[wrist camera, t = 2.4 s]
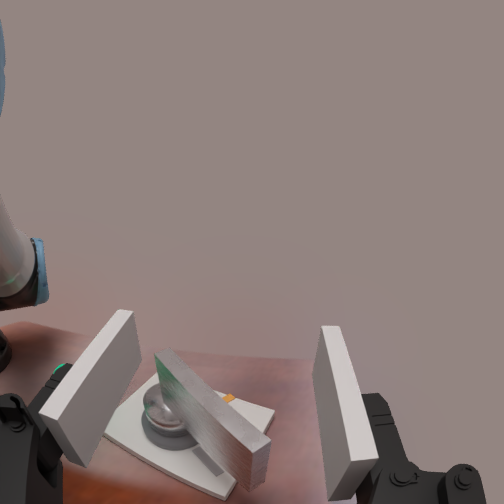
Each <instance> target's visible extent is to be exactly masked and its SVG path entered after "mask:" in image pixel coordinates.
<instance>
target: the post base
mask: <svg viewBox="0 0 504 504" xmlns="http://www.w3.org/2000/svg"><path fill="white" fill-rule="evenodd" d="M158 383H159V378H158V373H156V374H155V375H153V376H152V377H151V378H150V379H149V380H148V381H147V382H146V383H145V384H144V385H142V386H141V387H140V388H139V389H138V390H137V391H136V392H135V393H134V394H132V395H131V396H130V397H129V398H128V399H127V400H126V401H125V402H124V403H122V404H121V405H120V406H119V407H118V408H117V409H116V410H115V412H114V414H113V416H112V418H111V420H110V422H109V424H108V426H107V428H106V430H105V432H104V433H103V436H105V437H106V438H108V439H109V440H111V441H112V442H114V443H115V444H117V445H118V446H120V447H121V448H123V449H124V450H126V451H128V452H129V453H131V454H132V455H134V456H136V457H137V458H139V459H141V460H142V461H144V462H146V463H147V464H149V465H151V466H153V467H155V468H156V469H158V470H160V471H162V472H164V473H166V474H167V475H169V476H171V477H173V478H175V479H177V480H179V481H181V482H183V483H185V484H187V485H189V486H191V487H193V488H196V489H198V490H200V491H202V492H204V493H207V494H209V495H211V496H214V497H216V498H218V499H221V500H223V501H226V499H227V498H228V496H229V494H230V493H231V491H232V490H233V488H234V486H235V485H236V483H237V481H236V480H235V479H234V478H233V477H232V476H231V475H230V474H229V473H228V472H227V471H226V470H225V469H224V468H223V467H222V466H221V465H220V464H219V463H218V462H217V461H216V460H215V459H214V458H213V457H212V456H211V455H210V454H209V453H208V452H207V451H206V450H205V449H204V448H203V447H202V446H201V445H200V444H199V443H198V442H197V441H196V439H195V438H194V437H193V436H192V435H191V434H190V433H189V434H187V435H184V436H181V437H167V436H163V435H160V434H158V433H157V432H155V431H154V430H153V429H152V428H151V426H150V425H149V422H148V419H147V415H146V412H145V408H144V405H143V397H144V394H145V393H146V391H147V390H148V389H149V388H150V387H152V386H153V385H155V384H158ZM214 391H215V390H214ZM215 392H216V393H217V394H218V395H219V396H220V397H221V398H222V399H223V400H225V401H226V402H227V403H228V404H229V405H230V406H231V407H232V408H234V409H235V410H236V411H237V412H238V413H239V414H240V415H242V416H243V417H244V418H245V419H246V420H248V421H249V422H250V423H251V424H252V425H254V426H255V427H256V428H257V429H258V430H260V431H261V432H262V433H263V434H264V435H265V433H266V431H267V429H268V427H269V425H270V423H271V422H272V420H273V418H274V413H275V410H271V409H268V408H265V407H261V406H258V405H255V404H252V403H249V402H246V401H243V400H240V399H237V398H235V397H233V396H232V395H231V394H228V395H226V394H223V393H220V392H217V391H215Z"/></svg>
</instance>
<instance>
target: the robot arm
mask: <svg viewBox="0 0 504 504" xmlns="http://www.w3.org/2000/svg"><path fill="white" fill-rule="evenodd" d="M4 66H5V46H4V37H3V31H2V25H1V21H0V115H1V111H2V106H3V100H4V90H5V75H4ZM48 299H49V291H48V284H47V276H46V267H45V257H44V247H43V241H42V239H40V238H31V239H29V238H28V237H27V236H26V235H25V234H24V233H23V232H22V231H20V230H19V229H16V228H14V226H13V224H12V221H11V219H10V217H9V215H8V213H7V210H6V208H5V205H4V203H3V201H2V198H1V196H0V311H5V310H11V309H17V308H23V307H28V306H37V305H38V304H42V303H45V302H47V301H48ZM11 354H12V351H11V347H10V345H9V342H8V340H7V338H6V336H5V335H4V334H3V332H2V331H1V330H0V372H1V371H2V370H3V369H4V368H5V367H6V366H7V364H8V363H9V361H10V358H11ZM141 361H142V357H141V351H140V346H139V341H138V336H137V330H136V324H135V318H134V312H133V311H127V310H120V309H118V310H117V312H116V313H115V314H114V315H113V316H112V318H111V319H110V320H109V321H108V323H107V324H106V325H105V326H104V327H103V329H102V330H101V331H100V332H99V334H98V335H97V336H96V337H95V339H94V340H93V341H92V342H91V344H90V345H89V346H88V347H87V349H86V350H85V351H84V352H83V354H82V355H81V356H80V357H79V359H78V360H77V361H76V363H75V364H74V365H72V364H68V363H66V364H65V365H63V366H61V367H60V368H58V369H57V370H56V371H55V372H54V374H53V375H52V376H51V377H50V380H48V381H47V382H46V384H45V386H44V387H42V389H41V390H40V391H39V393H38V394H37V395H36V397H35V398H34V399H33V400H32V402H31V403H30V404H29V406H28V407H26V405H25V404H24V402H23V400H22V398H21V397H20V396H18V395H17V394H12V393H9V394H4V395H2V396H0V504H63V466H62V462H61V461H60V457H61V455H62V454H63V453H64V455H65V456H66V458H67V459H68V460H69V461H70V462H72V463H75V464H77V465H80V466H83V467H85V468H87V466H88V464H89V462H90V460H91V458H92V456H93V454H94V452H95V450H96V448H97V446H98V443H99V441H100V439H101V437H102V435H103V433H104V432H105V430H106V428H107V426H108V424H109V422H110V420H111V418H112V416H113V414H114V412H115V410H116V408H117V406H118V404H119V402H120V400H121V398H122V397H123V395H124V393H125V391H126V389H127V387H128V385H129V383H130V381H131V380H132V378H133V376H134V374H135V372H136V370H137V368H138V367H139V365H140V363H141ZM312 378H313V385H314V392H315V399H316V406H317V414H318V421H319V429H320V437H321V445H322V453H323V462H324V470H325V480H326V489H327V499H328V501H339V500H348V499H351V498H352V497H353V495H354V494H355V493H356V498H357V504H486V499H485V494H484V490H483V486H482V481H481V478H480V475H479V473H478V471H477V470H476V469H475V468H474V467H472V466H470V465H468V464H458V465H455V466H453V467H452V468H451V469H450V470H449V471H448V472H447V473H443V472H427V471H422V470H420V469H419V468H418V467H417V466H416V465H415V464H413V463H412V462H409V461H408V459H407V457H406V454H405V451H404V449H403V445H402V443H401V439H400V437H399V434H398V431H397V428H396V426H395V425H394V419H393V417H392V416H391V411H390V408H389V406H388V403H387V402H386V401H385V400H384V398H383V397H382V396H381V395H380V394H379V393H372V394H361V393H360V390H359V386H358V383H357V380H356V376H355V373H354V370H353V367H352V364H351V361H350V357H349V354H348V351H347V348H346V345H345V342H344V339H343V336H342V333H341V330H340V327H339V326H321V331H320V337H319V342H318V348H317V353H316V358H315V363H314V368H313V373H312Z"/></svg>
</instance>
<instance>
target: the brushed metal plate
mask: <svg viewBox="0 0 504 504" xmlns="http://www.w3.org/2000/svg"><path fill="white" fill-rule="evenodd" d="M154 356H155V362H156V367H157V373H158V378H159V383H158V384H155V385H153V386H152V387H150V388H149V389H148V390H147V391H146V393H145V394H144V397H143V405H144V408H145V412H146V415H147V419H148V422H149V425H150V426H151V428H152V429H153V430H154V431H155V432H157V433H158V434H160V435H163V436H167V437H181V436H184V435H187V434H189V433H190V434H191V435H192V436H193V437H194V438H195V439H196V441H197V442H198V443H199V444H200V445H201V446H202V447H203V448H204V449H205V450H206V451H207V452H208V453H209V454H210V455H211V456H212V457H213V458H214V459H215V460H216V461H217V462H218V463H219V464H220V465H221V466H222V467H223V468H224V469H225V470H226V471H227V472H228V473H229V474H230V475H231V476H232V477H233V478H234V479H235V480H236V481H237V482H238V483H239V484H241V485H242V486H243V487H244V488H245V489H246V490H247V491H248V492H251V491H252V490H254V489H255V488H257V487H258V486H260V485H261V484H262V483H264V482H265V477H266V471H267V466H268V460H269V454H270V447H271V441H272V440H271V439H269V438H268V437H267V436H266V435H264V434H263V433H262V432H261V431H260V430H258V429H257V428H256V427H255V426H254V425H252V424H251V423H250V422H249V421H248V420H246V419H245V418H244V417H243V416H242V415H240V414H239V413H238V412H237V411H236V410H235V409H234V408H232V407H231V406H230V405H229V404H228V403H227V402H226V401H225V400H223V399H222V398H221V397H220V396H219V395H218V394H217V393H216V392H215V391H214V390H213V389H211V388H210V387H209V386H208V385H207V384H206V383H205V382H204V381H203V380H202V379H201V378H200V377H199V376H198V375H197V374H196V373H195V372H194V371H193V370H192V369H191V368H189V367H188V366H187V365H186V364H185V363H184V362H183V361H182V360H181V359H180V358H179V357H178V355H177V354H176V353H175V352H174V351H173V350H172V349H171V348H167V349H165V350H162V351H159V352H156V353H154Z"/></svg>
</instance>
